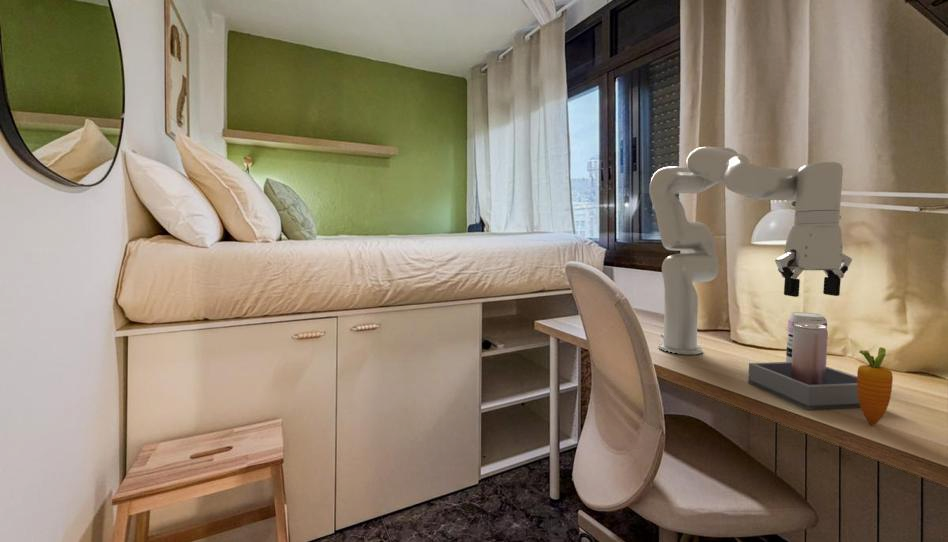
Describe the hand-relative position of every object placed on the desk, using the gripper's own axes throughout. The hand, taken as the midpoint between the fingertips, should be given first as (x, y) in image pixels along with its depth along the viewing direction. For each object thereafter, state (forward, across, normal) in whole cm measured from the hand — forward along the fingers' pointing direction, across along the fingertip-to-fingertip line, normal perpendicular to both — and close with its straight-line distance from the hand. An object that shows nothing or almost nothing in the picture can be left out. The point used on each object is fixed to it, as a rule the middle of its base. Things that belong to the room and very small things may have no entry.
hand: (811, 295), depth 87 cm
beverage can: (+22, 0, +1) cm, 22 cm away
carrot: (+23, +2, +16) cm, 28 cm away
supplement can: (+23, -16, -16) cm, 33 cm away
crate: (+23, 0, +1) cm, 23 cm away
